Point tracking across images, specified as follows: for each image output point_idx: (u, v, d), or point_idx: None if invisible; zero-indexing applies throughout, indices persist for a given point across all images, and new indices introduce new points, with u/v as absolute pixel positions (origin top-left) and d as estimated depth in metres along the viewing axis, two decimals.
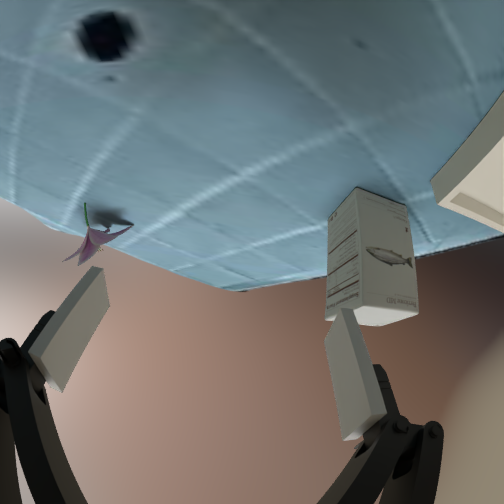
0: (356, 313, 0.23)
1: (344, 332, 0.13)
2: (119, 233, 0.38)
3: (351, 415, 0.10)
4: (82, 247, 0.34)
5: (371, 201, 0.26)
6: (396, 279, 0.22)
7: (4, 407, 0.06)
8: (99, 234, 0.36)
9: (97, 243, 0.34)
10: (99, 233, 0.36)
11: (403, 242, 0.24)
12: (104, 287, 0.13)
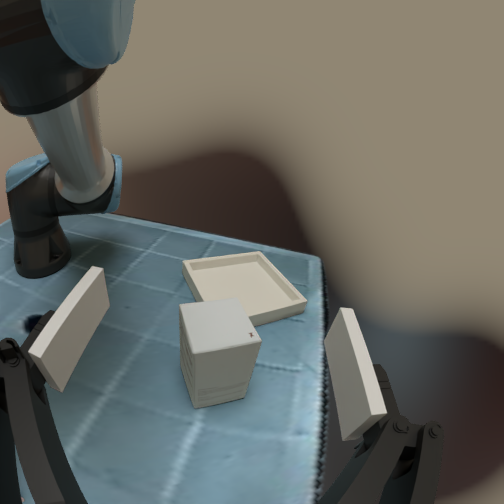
0: (190, 316, 0.28)
1: (343, 332, 0.13)
2: None
3: (351, 415, 0.10)
4: None
5: None
6: None
7: (4, 407, 0.06)
8: None
9: None
10: None
11: None
12: (104, 287, 0.13)
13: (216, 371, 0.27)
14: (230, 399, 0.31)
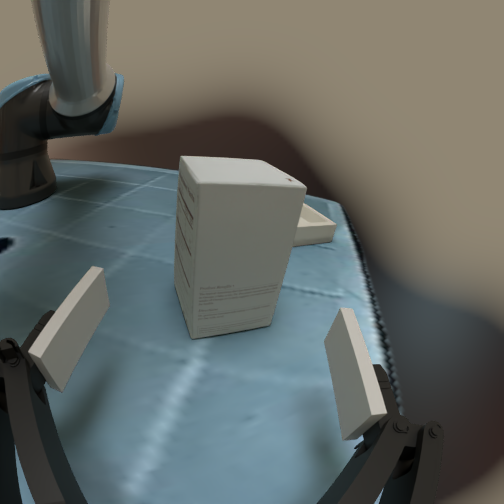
0: (196, 161, 0.18)
1: (343, 332, 0.13)
2: None
3: (351, 415, 0.10)
4: None
5: None
6: None
7: (4, 407, 0.06)
8: None
9: None
10: None
11: None
12: (104, 287, 0.13)
13: (234, 241, 0.17)
14: (249, 324, 0.22)
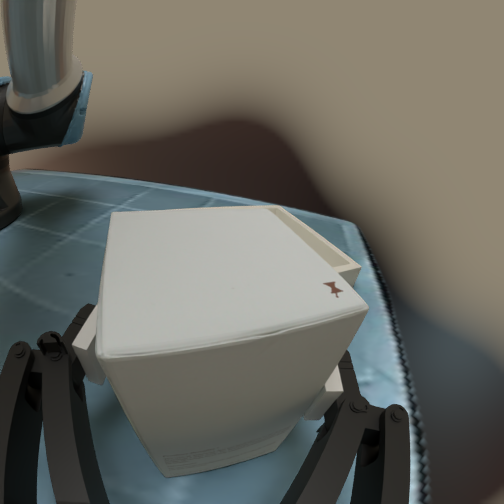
0: (130, 235, 0.08)
1: None
2: None
3: None
4: None
5: None
6: None
7: (34, 404, 0.07)
8: None
9: None
10: None
11: None
12: None
13: (211, 419, 0.07)
14: (246, 459, 0.12)
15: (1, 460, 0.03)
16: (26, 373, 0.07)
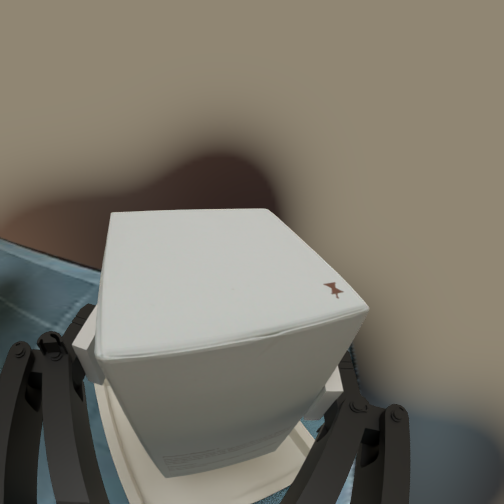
0: (130, 235, 0.08)
1: None
2: None
3: None
4: None
5: None
6: None
7: (34, 404, 0.07)
8: None
9: None
10: None
11: None
12: None
13: (211, 420, 0.07)
14: (246, 459, 0.12)
15: (1, 460, 0.03)
16: (26, 373, 0.07)
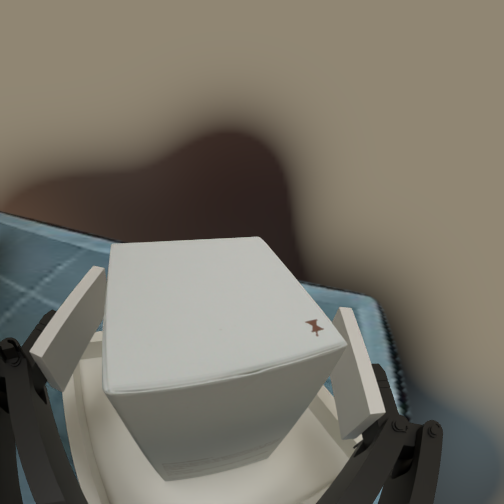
0: (129, 271, 0.09)
1: (342, 331, 0.13)
2: None
3: (350, 414, 0.10)
4: None
5: None
6: None
7: (5, 407, 0.06)
8: None
9: None
10: None
11: None
12: (105, 287, 0.13)
13: (204, 435, 0.08)
14: (240, 466, 0.13)
15: None
16: None
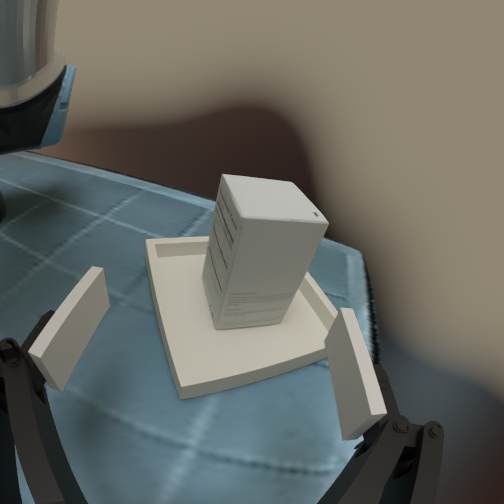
0: (237, 185, 0.21)
1: (344, 332, 0.13)
2: None
3: (351, 415, 0.10)
4: None
5: None
6: None
7: (4, 407, 0.06)
8: None
9: None
10: None
11: None
12: (104, 287, 0.13)
13: (264, 261, 0.21)
14: (264, 321, 0.26)
15: None
16: None
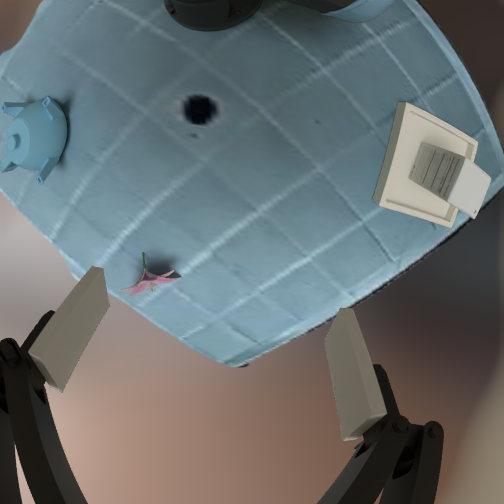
0: (464, 174, 0.26)
1: (343, 332, 0.13)
2: (170, 279, 0.49)
3: (351, 415, 0.10)
4: (139, 281, 0.45)
5: None
6: None
7: (4, 407, 0.06)
8: None
9: (155, 277, 0.45)
10: (154, 274, 0.48)
11: None
12: (104, 287, 0.13)
13: None
14: None
15: None
16: None
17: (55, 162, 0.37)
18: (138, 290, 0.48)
